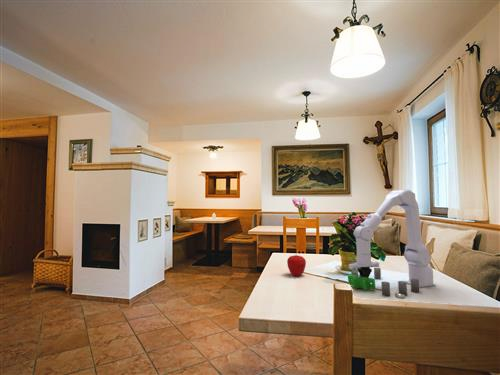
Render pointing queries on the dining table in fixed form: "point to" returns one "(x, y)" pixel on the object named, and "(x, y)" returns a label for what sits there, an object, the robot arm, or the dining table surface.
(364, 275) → the robot arm
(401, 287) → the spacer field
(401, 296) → the steel nut
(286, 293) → the dining table surface
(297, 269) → the red rounded piece
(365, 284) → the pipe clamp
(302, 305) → the dining table surface
